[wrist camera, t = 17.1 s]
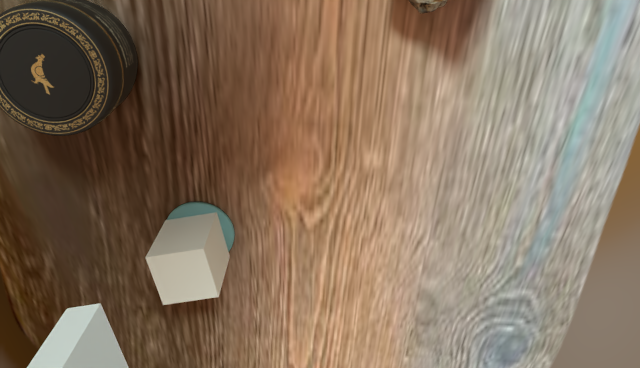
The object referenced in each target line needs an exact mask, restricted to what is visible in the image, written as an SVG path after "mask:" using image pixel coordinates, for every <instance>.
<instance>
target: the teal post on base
mask: <svg viewBox="0 0 640 368" xmlns="http://www.w3.org/2000/svg"><path fill="white" fill-rule="evenodd" d="M215 212H217V214H218V218H219V221H220V225H221V228H222V231H223V235H224V238H225V242H226V245H227V249H228V252H229V251H230V249H231V247H232V245H233V242H234V236H235V232H234V227H233V224H232V222H231V220H230V218H229V217H228V216H227V214H226V213H225V212H223V211H222V210H221V209H220V208H218V207H216V206H214V205H212V204H209V203H205V202H188V203H185V204H182V205H180V206H178V207H177V208H175V209H174V210H173V211H172V212H171V213H170V215H169V217H168V218H167V220H170V219H177V218H183V217H190V216H196V215H202V214H209V213H215Z"/></svg>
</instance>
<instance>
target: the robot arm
mask: <svg viewBox="0 0 640 368" xmlns="http://www.w3.org/2000/svg"><path fill="white" fill-rule="evenodd" d="M27 368H129V367H128V365H127V363H126V360H125V358H124V356H123V354H122V351H121V349H120V347H119V345H118V342H117V340H116V338H115V335H114V333H113V331H112V329H111V326H110V324H109V322H108V319H107V317H106V315H105V313H104V310H103V308H102V306H101V303H100V304H94V305H87V306H80V307H73V308H67V309H66V311H65V312H64V314H63V315H62V317H61V318H60V320H59V321H58V322H57V324H56V325H55V327H54V328H53V330H52V331H51V333H50V334H49V336H48V337H47V339H46V340H45V342H44V343H43V345H42V346H41V348H40V349H39V351H38V352H37V354H36V355H35V357H34V358H33V359H32V361H31V362H30V364H29V366H28V367H27Z"/></svg>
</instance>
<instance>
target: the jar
mask: <svg viewBox="0 0 640 368" xmlns="http://www.w3.org/2000/svg"><path fill="white" fill-rule="evenodd" d="M137 66H138V61H137V53H136V48H135V45H134V43H133V40H132V38H131V36H130V34H129V32H128V31H127V29H126V28H125V27H124V25H123V24H122V23H121V22H120V21H119V20H118V19H117V18H116V17H115V16H114V15H113V14H111V13H110V12H109V11H107V10H106V9H104V8H102V7H100V6H98V5H96V4H94V3H91V2H89V1H86V0H36V1H31V2H26V3H23V4H20V5H18V6H16V7H13V8H11V9H9V10H7V11H5V12H3V13H2V14H0V108H1V109H2V110H3V111H4V112H5V113H6V114H7V115H8V116H10V117H11V118H12V119H13V120H15V121H16V122H18V123H19V124H21V125H23V126H25V127H27V128H29V129H31V130H34V131H37V132H40V133H44V134H48V135H57V136H65V135H73V134H77V133H80V132H83V131H86V130H88V129H90V128H91V127H93V126H95V125H96V124H98V123H99V122H101V121H102V120H104V119H105V118H106V117H107V116H108V115H109V114H110V113H111V112H112V111H113V110H114V109H115V108H116V107H117V106H119V105H120V104H121V103H122V102H123V101H124V100H125V99H126V97H127V96H128V95H129V93H130V91H131V90H132V87H133V85H134V82H135V79H136V74H137Z"/></svg>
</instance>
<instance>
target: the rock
mask: <svg viewBox="0 0 640 368" xmlns="http://www.w3.org/2000/svg"><path fill="white" fill-rule="evenodd" d="M409 1H410V3H411V4H412V5H413V6H414V7H415V8H416V9H417V10H418V11H419V13H427V12H432V11H434V10H435V9H437V7H443V6H444V5H445V4H446V2H447V0H409Z"/></svg>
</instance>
